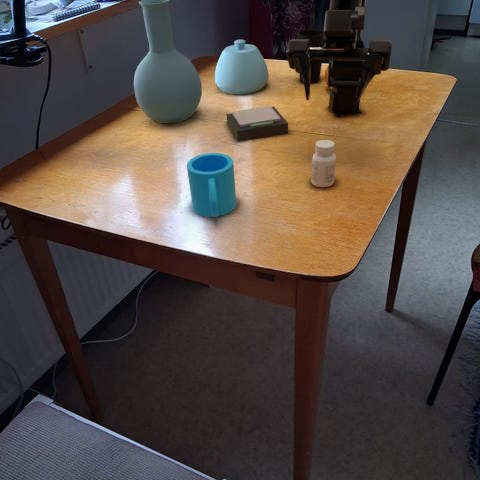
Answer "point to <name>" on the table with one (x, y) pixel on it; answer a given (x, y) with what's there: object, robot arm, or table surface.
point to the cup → (315, 42)
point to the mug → (212, 184)
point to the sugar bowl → (241, 69)
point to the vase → (165, 71)
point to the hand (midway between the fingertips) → (331, 100)
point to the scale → (256, 123)
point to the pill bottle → (323, 164)
